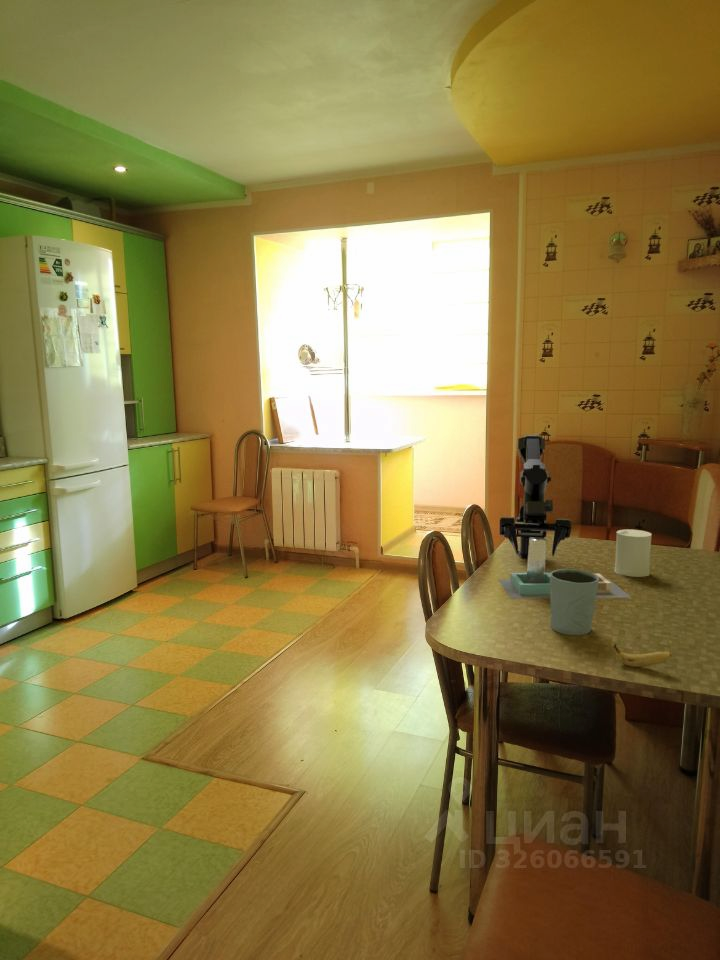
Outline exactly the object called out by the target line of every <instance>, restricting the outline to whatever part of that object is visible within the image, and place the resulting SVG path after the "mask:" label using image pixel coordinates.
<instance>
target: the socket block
mask: <svg viewBox="0 0 720 960" xmlns="http://www.w3.org/2000/svg"><path fill="white" fill-rule="evenodd" d="M592 574H594V575H596V576H597V577H598V578H599V582H598V588H597V593H611V583H610V582H609V581H608V580H607V579H605V578H606V577H604V576H603V575H602V574H601V573H596V572H595V573H592Z"/></svg>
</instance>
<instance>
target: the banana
mask: <svg viewBox="0 0 720 960" xmlns="http://www.w3.org/2000/svg"><path fill="white" fill-rule="evenodd" d="M613 648H614V649H615V651H616V652H617V654H618V655H617V656H618V660H619V661H620V662H621V663H622V664H623V665H625V666H628V667H632V668H645V667H652V666H656V665H659V664H662V663H666V661H668V660H670V658H671V657H672V654H671V653H672V652H668V651H655V652H649V653H641V654H632V653H625V652H623V651H621V650H620V649H619V648H618V647H617V643H616V642H615V644H613Z"/></svg>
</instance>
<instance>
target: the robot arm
mask: <svg viewBox="0 0 720 960" xmlns="http://www.w3.org/2000/svg"><path fill="white" fill-rule="evenodd" d="M545 451H546V438H544V437H542V436H541V435H540V434H526V435H523V437H519V438H518V439H517V452H518V453H519V460H520V462H522V470H520V473H519V474H520V476H519V478H520V481H519V482H520V483H519V484H522V487H523V505H521V507H520V509H519V513H518V517H516V521H515V516H501V517H500V518H499V535H501V536H503V537H504V538H505V539H508V540H509V542H510V544H511V545H512V548H513V551H514V552H515V554H516V555H518V556H519V557H520V558H521V559H528V549H529V538H531V537H540V538H546V537H547V532H554V534H553V541H552V549H551V556H552V557H554V556H555V554H556V551H557V548H558V546H559V544H560V543H561V541H565V540H566V539H568V538H570V537H571V533H572V527H573V526H572V525H573V524H572V520H570V518H555V522H554V523H548V522H547V514H551V513H552V514H553V510H554V503H553V502H554V501H553V500H552V499H546V496H545V495H546V490H547V485H548V484H549V483H550V482H552V476H551V475H550V474H549V471H548V470H546V464H545V463H544V462H542V457H543V453H545ZM518 538H520V540H519V541H520V543H519V544H518Z"/></svg>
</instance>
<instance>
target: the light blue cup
mask: <svg viewBox="0 0 720 960" xmlns="http://www.w3.org/2000/svg"><path fill="white" fill-rule="evenodd" d="M549 573H550V590H551V593H550V596H551V597H550V598H549V601H550V602H549V603H550V606H549V607H550V628H551V629H552V630H554V631H556V632H557V633H559V634H563V635H564V634H565V635H567V636H569V635H570V636H582V635H587V634H589V633H590V632H591V631H592V627H593V618H594V613H595V609H596V608H595V605H596V600H597V598H596V593H597V588H598V582H599V578H598V577H597V576H596V575H594V574H592V573H591V572H589V571H585V570H582V569H581V570H580V569H572V568H570V569H569V568H563V569H556V570H552V571H551V572H549Z"/></svg>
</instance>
